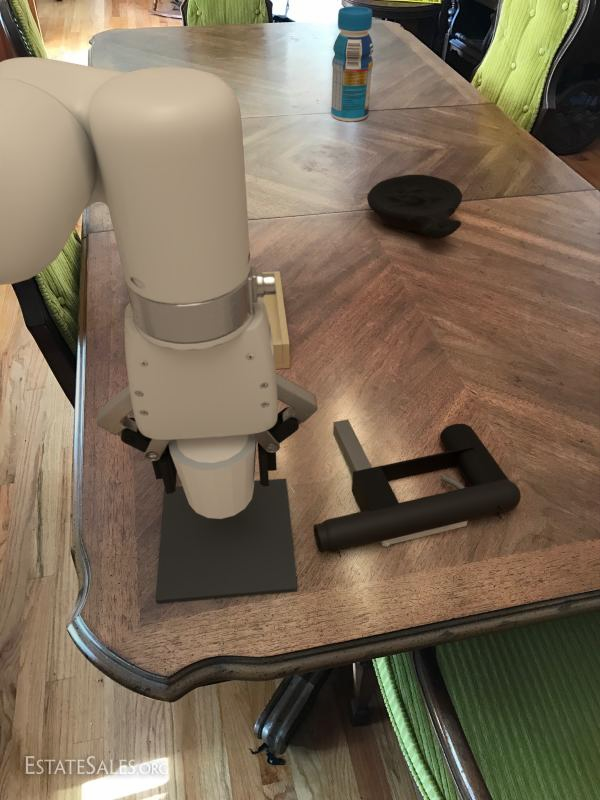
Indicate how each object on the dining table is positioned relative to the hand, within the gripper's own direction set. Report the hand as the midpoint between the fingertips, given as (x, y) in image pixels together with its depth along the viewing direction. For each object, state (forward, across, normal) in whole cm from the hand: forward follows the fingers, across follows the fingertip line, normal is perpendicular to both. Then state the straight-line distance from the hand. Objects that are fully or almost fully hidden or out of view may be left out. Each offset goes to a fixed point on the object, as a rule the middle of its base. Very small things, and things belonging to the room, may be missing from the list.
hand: (218, 475), depth 50 cm
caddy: (+9, 0, -31) cm, 32 cm away
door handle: (+9, -17, -5) cm, 20 cm away
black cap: (+9, -31, -56) cm, 65 cm away
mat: (+9, 0, 0) cm, 9 cm away
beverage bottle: (+9, -28, -106) cm, 110 cm away
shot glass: (+2, 0, 0) cm, 2 cm away
